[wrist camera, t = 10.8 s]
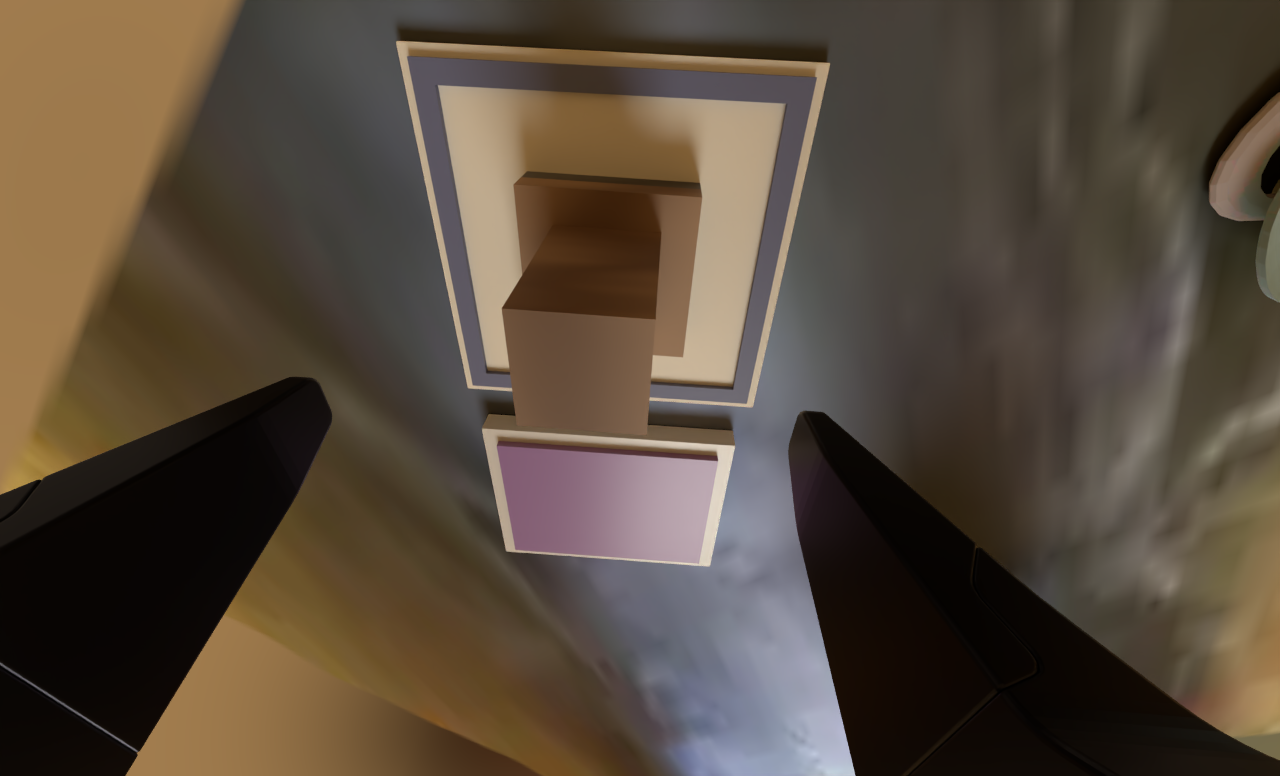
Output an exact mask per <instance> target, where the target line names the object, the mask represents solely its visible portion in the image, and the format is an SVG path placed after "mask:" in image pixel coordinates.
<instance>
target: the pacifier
mask: <svg viewBox="0 0 1280 776" xmlns="http://www.w3.org/2000/svg"><path fill="white" fill-rule="evenodd" d="M1279 146H1280V92H1279V93H1278V94H1276V95H1275V96H1274V97H1273V98H1272V99H1270V100H1269V101H1268V102H1267V103H1266V104H1265V105H1264V106H1263V107H1262V108H1261V109H1260V111H1259V112H1258V113H1257V114H1256V115H1255V116H1254V117H1253V118H1252V119H1251V120H1250V121H1249V122H1248V123H1247V124H1246V125H1245V126H1244V127H1243V128H1242V129H1241V130H1240V131H1239V132H1238V134H1237V135H1236V136H1235V138H1234V139H1233V141H1232V142H1231V143H1230V145H1229V146H1228V147H1227V149H1226V150H1225V152H1224V153H1223V154H1222V156H1221V157H1220V158H1219V160H1218V162H1217V165H1216V167H1215V169H1214V172H1213V174H1212V176H1211V179H1210V181H1209V202H1210V204H1211V205H1212V207H1213V208H1214V209H1215V210H1216V212H1217V213H1218V214H1219V215H1220V216H1223V217H1226V218H1230V219H1233V220H1236V221H1256V220H1264V222H1263V225H1262V228H1261V231H1260V235H1259V239H1258V245H1257V253H1256V261H1255V262H1256V272H1257V279H1258V284H1259V286H1260V288H1261V290H1262V291H1263V293H1264V294H1265V295H1266V296H1268V297H1269V298H1271V299H1273V300H1275V301H1277V302H1280V179H1279V180H1278V182H1277V183H1276V185H1275V187H1274V189H1273V191H1272V194H1265V193H1264V192H1263V191H1262V189H1261V176H1262V173H1263V171H1264V169H1265V167H1266V165H1267V163H1268V161H1269V159H1270V157H1271V156H1272V154H1273V153H1274V152H1275V151H1276V149H1277V148H1278V147H1279Z"/></svg>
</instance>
